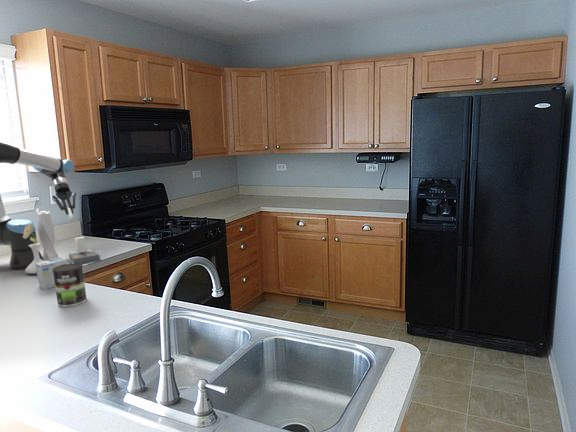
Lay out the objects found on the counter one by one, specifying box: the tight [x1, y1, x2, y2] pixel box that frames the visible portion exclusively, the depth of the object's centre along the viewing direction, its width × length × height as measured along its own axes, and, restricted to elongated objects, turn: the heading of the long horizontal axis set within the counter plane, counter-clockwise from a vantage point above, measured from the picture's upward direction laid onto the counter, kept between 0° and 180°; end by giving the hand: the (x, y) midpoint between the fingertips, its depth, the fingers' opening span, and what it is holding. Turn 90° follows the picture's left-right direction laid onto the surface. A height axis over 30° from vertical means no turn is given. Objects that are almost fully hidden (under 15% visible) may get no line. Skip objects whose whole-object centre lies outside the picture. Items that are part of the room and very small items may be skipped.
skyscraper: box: [36, 208, 59, 261], centre depth 227 cm, size 8×8×28 cm
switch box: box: [68, 249, 100, 265], centre depth 226 cm, size 12×14×3 cm
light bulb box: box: [35, 256, 68, 290], centre depth 188 cm, size 11×7×11 cm, turn 141°
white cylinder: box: [74, 236, 87, 253], centre depth 229 cm, size 4×4×8 cm
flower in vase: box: [23, 223, 44, 275], centre depth 205 cm, size 13×11×25 cm
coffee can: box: [52, 263, 88, 308], centre depth 165 cm, size 10×10×14 cm
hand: (71, 218), depth 242 cm, fingers closed
